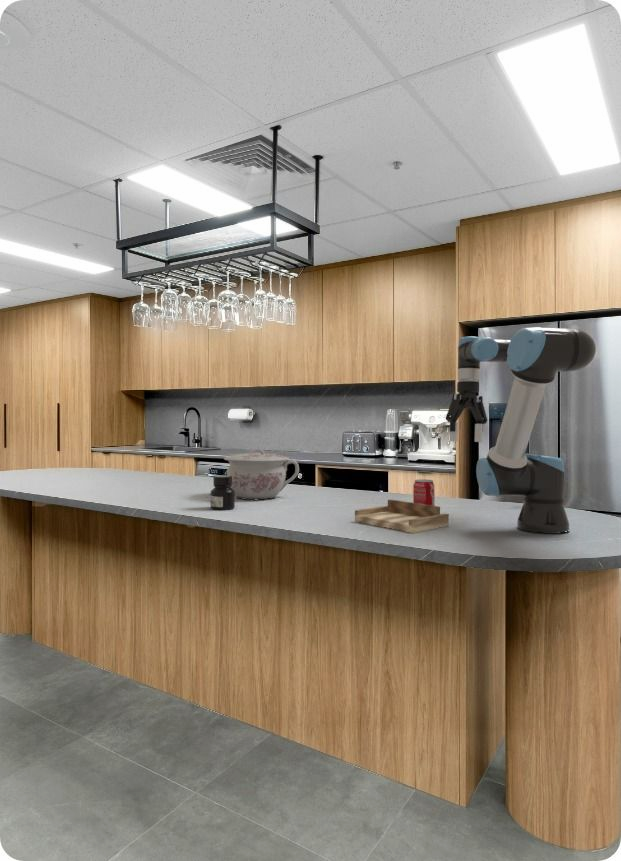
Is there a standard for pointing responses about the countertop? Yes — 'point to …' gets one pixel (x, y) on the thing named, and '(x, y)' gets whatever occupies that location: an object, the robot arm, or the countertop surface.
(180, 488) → the countertop surface
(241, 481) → the chamber pot
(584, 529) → the countertop surface
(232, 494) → the ink bottle
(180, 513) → the countertop surface
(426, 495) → the soda can
